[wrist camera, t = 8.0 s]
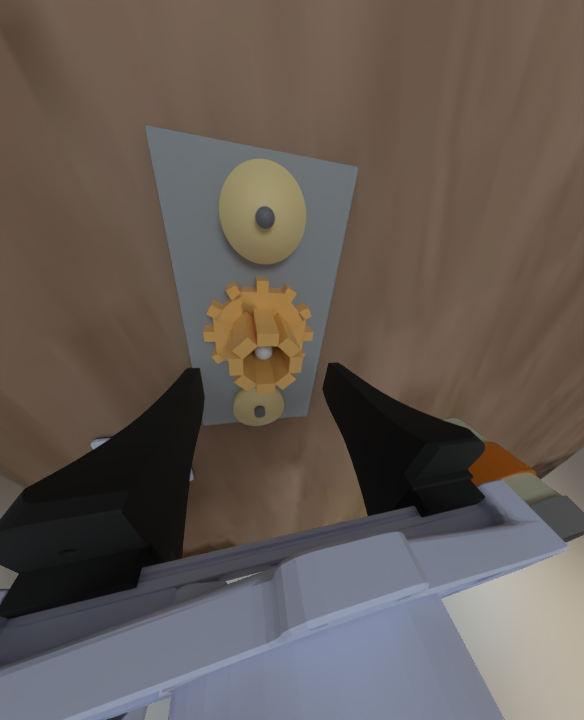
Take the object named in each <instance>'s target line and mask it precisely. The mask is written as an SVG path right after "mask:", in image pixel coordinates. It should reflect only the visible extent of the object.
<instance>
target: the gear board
mask: <svg viewBox="0 0 584 720" xmlns="http://www.w3.org/2000/svg"><path fill="white" fill-rule="evenodd" d="M145 128H146V133H147V138H148V143H149V148H150V154H151V159H152V164H153V169H154V174H155V179H156V184H157V189H158V195H159V200H160V205H161V210H162V215H163V220H164V225H165V231H166V236H167V241H168V246H169V251H170V256H171V261H172V266H173V272H174V277H175V282H176V287H177V292H178V297H179V302H180V308H181V313H182V318H183V323H184V328H185V333H186V338H187V343H188V349H189V354H190V359H191V364H192V368H200V371H201V377H202V383H203V389H204V395H205V400H204V410H203V417H202V420H203V426H205V425H216V424H227V423H237V422H241V423H243V424H246V425H249V426H262V425H266V424H269V423H271V422H273V421H275V420H276V419H279V418H290V417H300V416H307V414H308V409H309V404H310V399H311V394H312V390H313V385H314V380H315V375H316V370H317V366H318V361H319V356H320V351H321V346H322V341H323V337H324V332H325V327H326V322H327V317H328V313H329V308H330V303H331V298H332V293H333V289H334V284H335V279H336V274H337V269H338V264H339V260H340V255H341V250H342V245H343V240H344V236H345V231H346V226H347V221H348V216H349V211H350V207H351V202H352V197H353V192H354V187H355V183H356V178H357V173H358V168H359V167H355V166H350V165H345V164H340V163H335V162H330V161H325V160H320V159H314V158H309V157H304V156H299V155H294V154H289V153H284V152H279V151H274V150H269V149H264V148H259V147H254V146H249V145H244V144H238V143H233V142H228V141H223V140H218V139H213V138H208V137H203V136H198V135H193V134H188V133H183V132H178V131H173V130H168V129H162V128H157V127H152V126H147V125H145ZM256 276H260V277H267V278H268V281H269V288H279V289H281V288H282V287H283V285H284V284H287V285H288V286H290V287H291V288H293V289H294V291H295V292H296V293H297V295H296V296H295V297H294V299H293V300H292V303H293V304H294V305H295V307H296V306H298V305H300V304H302V303H305V304H306V305H307V307H308V308H309V311H310V313H311V316H312V317H310V318H308V319H306V325H305V326H310V328H311V329H312V331H313V338H312V341H303V344H302V349H303V351H304V353H305V356H304V357H303V362H302V368H301V373H294V374H295V377H296V380H295V381H294V382H292V383H291V384H290V385H288V386H287V387H286V388H285V389H283V390H282V389H281V388H280V387H278V386H277V385H276V384H275V393H265V394H256V386H255V387H254V388H253V389H251V390H250V391H249V392H247V391H246V390H244V389H243V388H241V387H240V386H238V385H237V384H235V383H234V376H230V373H229V362H228V361H227V360H225V361H223V362H221V363H219V364H217V363H216V362H215V361H214V359H213V358H212V352H213V349H214V348H216V343H215V342H204V336H203V331H204V327H205V325H214V324H213V318H212V317H210V316H208V315H206V313H207V310H208V307H209V306H210V304H211V302H212V300H213V299H214V300H216V301H217V302H219V303H221V304H224V303H225V302H226V301H227V300H228V299H229V298H230V297H229V295H228V294H227V292H226V286H227V285H229V284H230V283H232V282H234V281H237V283H238V284H239V286H240V287H256ZM255 355H256V356H257V357H258V358H259V359H261V360H266V359H269V358H270V357H271V355H272V346H263V347H257V348H255Z"/></svg>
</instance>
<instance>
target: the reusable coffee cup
mask: <svg viewBox="0 0 584 720" xmlns="http://www.w3.org/2000/svg"><path fill="white" fill-rule="evenodd" d="M444 421H447V422H450V423H453V424H456V425H459V426H463V427H466V428H468V429H470V430H471V431H472V432H473V433H474V434H475V435H476V436H477V437H478V438H479V439H480V440H481V441H483V443H484V444H485V450H484V452H483V454H482V455H481V456H480V457H479V458H478V459H477V460H476V461H475V462H474V463H473V464H472V465H471V466H470V467H469V468H468V470H469V472H470V473H471V474H472V475H473V479H470V480H471V481H472V482H473V483H474V484H475V486H477V485H479V484H481V483H484V482H489V481H494V480H498V479H501V480H503V481H504V482H505V483H506V484H507V485H508V486H509V487H510V488H511V489H512V490H513V491H514V492H515V493H516V494H517V495H518V496H519V497H520V498H521V499H522V500H523V501H524V502H525V503H526V504H527V505H528V506H529V507H530V508H531V509H532V510H533V511H534V512H535V513H536V514H537V515H538V516H539V517H540V518H541V519H542V520H543V521H544V522H545V523H546V524H547V525H548V526H549V527H550V528H551V529H552V530H553V531H554V532H555V533H556V534H557V535H558V536H559V537H560V538H561V539H562V540H563V541H564V542H565V543H566V542H568V541H571V540H573V539H575V538H578V537H580V536H582V535H584V512H583V511H582V510H581V509H580V508H579V507H578V506H577V505H576V504H574V502H572V500H570V499H569V498H568V497H567V496H562V495H560V494H559V493H558V492H556V491H555V490H553V489H552V488H551V487H549V486H548V485H547V484H545V483H544V482H543V481H541V480H540V479H539V478H537V477H536V472H535V471H534V470H532V469H531V468H530V467H528V466H527V465H526V464H524V463H523V462H521V461H520V460H519V459H517V458H516V457H515V456H513V455H512V454H511V453H509V452H508V451H506V450H505V449H504V448H502V447H501V446H500V445H498V444H497V443H494V442H489V441H488V440H486V439H485V438H484V437H482V436H481V435H480V434H478V433H477V432H476V431H474V430H473V429H472V428H470V427H469V426H468V425H466V424H465V423H464V422H462V421H461V420H460V419H457V418H449V419H444Z"/></svg>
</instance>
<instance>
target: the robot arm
mask: <svg viewBox="0 0 584 720" xmlns="http://www.w3.org/2000/svg"><path fill="white" fill-rule="evenodd" d="M322 389H323V393H324V396H325V399H326V402H327V405H328V407H329V409H330V411H331V413H332V415H333V417H334V419H335V421H336V423H337V425H338V427H339V430H340V432H341V434H342V436H343V438H344V440H345V443H346V446H347V449H348V451H349V454H350V457H351V460H352V463H353V466H354V469H355V472H356V475H357V478H358V482H359V485H360V488H361V492H362V495H363V499H364V503H365V507H366V511H367V514H368V516H367V517H363V518H358V519H354V520H350V521H345V522H341V523H336V524H332V525H328V526H323V527H319V528H314V529H310V530H306V531H301V532H297V533H292V534H288V535H284V536H279V537H275V538H270V539H266V540H262V541H257V542H253V543H249V544H244V545H240V546H235V547H231V548H227V549H222V550H218V551H213V552H209V553H205V554H200V555H196V556H191V557H187V558H183V559H182V551H183V540H184V528H185V518H186V509H187V499H188V491H189V482H190V481H192V480H193V479H194V475H193V471H192V468H191V467H192V460H193V455H194V450H195V446H196V442H197V438H198V434H199V429H200V425H201V421H202V417H203V410H204V400H205V395H204V389H203V383H202V377H201V371H200V368H187V369H186V370H185V371H184V372H183V373H182V375H181V376H180V377H179V378H178V379H177V380H176V381H175V382H174V384H173V385H172V386H171V387H170V388H169V389H168V390H167V391H166V392H165V393H164V394H163V395H162V396H161V397H160V398H159V399H158V400H157V401H156V402H155V403H154V404H153V405H152V406H151V407H150V408H149V409H148V410H146V411H145V412H144V413H143V414H142V415H141V416H140V417H138V418H137V419H136V420H135V421H133V422H132V423H131V424H130V425H128V426H127V427H126V428H124V429H123V430H121V431H120V432H119V433H117V434H116V435H114V436H113V437H111V438H104V439H96V440H93V441H92V443H91V446H92V448H93V449H94V450H92V451H90V452H89V453H87V454H86V455H84V456H82V457H81V458H79V459H77V460H76V461H74V462H72V463H71V464H69V465H67V466H66V467H64V468H62V469H60V470H58V471H57V472H55V473H53V474H51V475H49V476H47V477H46V478H44V479H42V480H40V481H38V482H37V483H35V484H33V485H31V486H29V487H27V488H25V489H24V490H23V492H22V493H21V494H20V495H19V496H18V497H17V499H16V500H15V501H14V503H13V504H12V505H11V506H10V508H9V509H8V510H7V512H6V513H5V514H4V515H3V517H2V518H1V519H0V565H1V566H4V567H6V568H8V569H10V570H13V571H15V572H17V573H19V575H18V576H17V578H16V580H15V581H14V583H13V584H12V586H11V588H10V589H0V720H144V718H145V715H146V711H147V707H148V705H149V704H152V703H155V702H158V701H160V700H163V699H166V698H169V697H171V702H170V710H169V717H168V720H505V719H504V718H503V716H502V714H501V712H500V710H499V708H498V706H497V704H496V703H495V701H494V699H493V697H492V695H491V693H490V691H489V689H488V687H487V686H486V684H485V682H484V680H483V678H482V676H481V674H480V672H479V671H478V668H477V667H476V665H475V663H474V661H473V659H472V657H471V655H470V653H469V651H468V650H467V648H466V646H465V644H464V642H463V640H462V638H461V636H460V634H459V633H458V631H457V629H456V627H455V625H454V623H453V621H452V619H451V618H450V616H449V614H448V612H447V610H446V608H445V606H444V604H443V602H442V600H441V599H442V598H444V597H447V596H450V595H452V594H455V593H458V592H460V591H463V590H466V589H468V588H471V587H474V586H476V585H479V584H482V583H484V582H487V581H490V580H493V579H495V578H498V577H501V576H503V575H506V574H509V573H512V572H514V571H517V570H520V569H523V568H525V567H527V566H530V565H532V564H535V563H537V562H539V561H542V560H544V559H547V558H549V557H552V556H554V555H556V554H559V553H561V552H564V551H566V550H568V549H569V546H568V545H567V544H566V543H565V542H564V541H563V540H562V539H561V538H560V537H559V536H558V535H557V534H556V533H555V532H554V531H553V530H552V529H551V528H550V527H549V526H548V525H547V524H546V523H545V522H544V521H543V520H542V519H541V518H540V517H539V516H538V515H537V514H536V513H535V512H534V511H533V510H532V509H531V508H530V507H529V506H528V505H527V504H526V503H525V502H524V501H523V500H522V499H521V498H520V497H519V496H518V495H517V494H516V493H515V492H514V491H513V490H512V489H511V488H510V487H509V486H508V485H507V484H506V483H505V482H504V481H503V480H501V479H498V480H494V481H489V482H484V483H481V484H479V485H477V486H475V484H474V483H473V482H472V481H471V480H470V479H473V475H472V474H471V473H470V472H469V470H468V468H469V467H470V466H471V465H472V464H473V463H474V462H475V461H476V460H477V459H478V458H479V457H480V456H481V455H482V454H483V452H484V450H485V444H484V443H483V441H481V440H480V439H479V438H478V437H477V436H476V435H475V434H474V433H473V432H472V431H471V430H470V429H468V428H466V427H463V426H459V425H456V424H453V423H450V422H447V421H444V420H441V419H438V418H436V417H433V416H430V415H428V414H425V413H423V412H420V411H418V410H416V409H413V408H411V407H409V406H407V405H405V404H403V403H401V402H399V401H397V400H395V399H393V398H391V397H389V396H387V395H386V394H384V393H382V392H381V391H379V390H377V389H376V388H374V387H373V386H371V385H370V384H368V383H367V382H365V381H364V380H362V379H361V378H359V377H358V376H357V375H355V374H354V373H352V372H351V371H350V370H348V369H347V368H345V367H344V366H343V365H341V364H339V363H328V367H327V372H326V376H325V380H324V384H323V388H322ZM262 571H263V572H262ZM258 572H261V573H258ZM254 573H258V574H255V575H253V576H250V577H247V578H244V579H241V580H238V581H236V582H233V583H230V584H227V583H226V582H225V581H227V580H232V579H235V578H239V577H243V576H247V575H250V574H254Z"/></svg>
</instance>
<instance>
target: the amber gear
mask: <svg viewBox="0 0 584 720" xmlns="http://www.w3.org/2000/svg"><path fill="white" fill-rule="evenodd" d="M226 292H227V294H228V295H229V297H230V298H229V299H228V300H227V301H226V302H225V303H224V304H221V303H219V302H217V301H216V300H214V299H213V300H212V302H211V304H210V306H209V307H208V310H207V313H206V315H208V316H210V317H212V318H213V324H214V325H205V327H204V331H203V336H204V342H215V343H216V348H214V349H213V352H212V358H213V359H214V361H215V362H216V363H217V364H219V363H221V362H223V361H225V360H227V361H228V362H229V373H230V376H234V383H235V384H237V385H238V386H240V387H241V388H243V389H244V390H246V391H247V392H249V391H250V390H251V389H253V388H254V387H255V386H256V394H265V393H275V384H276V385H277V386H278V387H280V388H281V389H282V390H283V389H285V388H286V387H287V386H288V385H290V384H291V383H292V382H294V381H295V380H296V377H295V374H294V373H301V368H302V362H303V357H304V356H305V353H304V351H303V349H302V344H303V341H312V338H313V331H312V329H311V328H310V326H305V325H306V319H308V318H310V317H312V316H311V313H310V311H309V308H308V307H307V305H306V304H305V303H302V304H300V305H298V306H296V307H295V305H294V304H293V303H292V300H293V299H294V297H295V296H296V295H297V293H296V292H295V291H294V289H293V288H291V287H290V286H288V285H287V284H284V285H283V287H282V288H281V289H279V288H269V281H268V278H267V277H260V276H256V287H240V286H239V284H238V283H237V281H234V282H232V283H230V284H229V285H227V286H226ZM263 346H272V355H271V357H270V358H269V359H266V360H261V359H259V358H258V357H257V356H256V355H255V348H257V347H263Z"/></svg>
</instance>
